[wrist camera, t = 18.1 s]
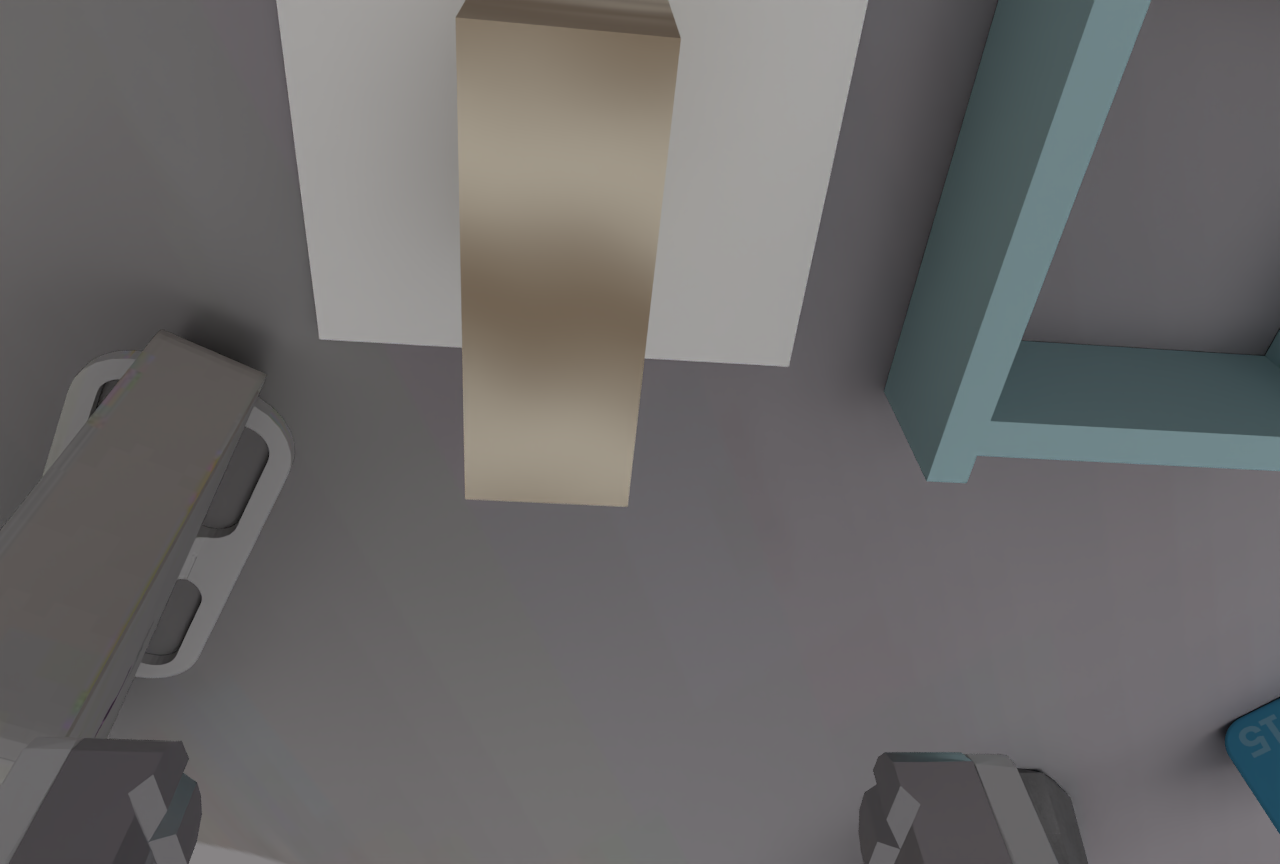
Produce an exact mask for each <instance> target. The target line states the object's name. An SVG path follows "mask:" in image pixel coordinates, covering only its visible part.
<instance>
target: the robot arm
mask: <svg viewBox="0 0 1280 864" xmlns="http://www.w3.org/2000/svg"><path fill="white" fill-rule="evenodd" d="M188 760H189V757H188V755H187V753H186V750H185V748H184V745H183V743H182V741H165V740H132V739H100V738H84V737H36V738H35V739H34V740H33V741H32V742H31V743H30V744H29V745H28V746H27V747H26V748H24V749H23V750H22V751H21V753H20V754H19V756H18V758H17V759H16V761H15V763H14V764H13V766H12V768H11V769H10V771H9V773H8V774H7V776H6V777H5V779H4V781H3V782H2V784H1V786H0V864H189V861H190V858H191V855H192V853H193V850H194V847H195V845H196V842H197V838H198V832H199V827H200V821H201V816H202V807H201V794H200V791H199V788H198V784H197V782H196V781H194V780H193V779H191V778H190V777H188V776H187V775H185V774H184V773H183V772H184V769H185V767H186V765H187V762H188ZM873 772H874V775H875V779H876V783H877V784H876V785H875V786H873V787H872V788H870V789H869V790H867V791H866V792H865V793H864V796H863V800H862V803H861V806H860V809H859V839H860V847H861V853H862V857H863V862H864V864H1058V861H1057V859H1056V857H1055V854H1054V852H1053V850H1052V848H1051V845H1050V843H1049V841H1048V838H1047V836H1046V834H1045V832H1044V829H1043V827H1042V825H1041V822H1040V820H1039V818H1038V816H1037V813H1036V811H1035V809H1034V806H1033V804H1032V802H1031V799H1030V797H1029V795H1028V793H1027V790H1026V788H1025V786H1024V783H1023V781H1022V779H1021V777H1020V774H1019V772H1018V770H1017V767H1016V765H1015V763H1014V762H1013V761H1012V760H1011V759H1010V758H1009V757H1008V756H1007V755H1003V754H962V753H957V752H884V753H883V754H882V755H880V756H879V757H878V759H877V761H876V764H875V766H874V769H873Z"/></svg>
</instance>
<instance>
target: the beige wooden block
mask: <svg viewBox="0 0 1280 864" xmlns="http://www.w3.org/2000/svg"><path fill="white" fill-rule="evenodd" d="M455 18H456V68H457V118H458V167H459V217H460V267H461V317H462V366H463V416H464V466H465V499H470V500H491V501H512V502H534V503H555V504H576V505H598V506H619V507H628V499H629V490H630V481H631V473H632V464H633V455H634V446H635V438H636V429H637V420H638V411H639V402H640V394H641V385H642V376H643V367H644V359H645V350H646V341H647V332H648V323H649V315H650V306H651V297H652V288H653V280H654V271H655V262H656V253H657V244H658V236H659V227H660V218H661V209H662V201H663V192H664V183H665V174H666V166H667V157H668V148H669V139H670V130H671V122H672V113H673V104H674V95H675V87H676V78H677V69H678V60H679V51H680V43H681V37H680V34H679V31H678V28H677V25H676V22H675V19H674V16H673V13H672V10H671V7H670V4H669V1H668V0H465V2H464V4H463V6H462V7H461V9H460V11H459V12H458V14H457V16H456V17H455Z"/></svg>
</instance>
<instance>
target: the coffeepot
mask: <svg viewBox="0 0 1280 864" xmlns="http://www.w3.org/2000/svg"><path fill="white" fill-rule="evenodd" d="M1017 770H1018V772H1019V774H1020V777H1021V779H1022V781H1023V783H1024V786H1025V788H1026V790H1027V793H1028V795H1029V797H1030V799H1031V802H1032V804H1033V806H1034V809H1035V811H1036V813H1037V816H1038V818H1039V820H1040V822H1041V825H1042V827H1043V829H1044V832H1045V834H1046V836H1047V838H1048V841H1049V843H1050V845H1051V848H1052V850H1053V852H1054V854H1055V857H1056V859H1057V861H1058V864H1088V861H1087V857H1086V854H1085V850H1084V846H1083V842H1082V839H1081V835H1080V831H1079V828H1078V824H1077V820H1076V817H1075V813H1074V809H1073V805H1072V802H1071V798H1070V797H1069V796H1068V795H1067V794H1066V793H1065V792H1064V791H1063V790H1062V789H1061V788H1060V787H1059V785H1058V784H1057V783H1056V782H1055V781H1054V780H1053V779H1051V778H1050V777H1048V776H1047V775H1045V774H1043V773H1041V772H1036V771H1031V770H1026V769H1017Z"/></svg>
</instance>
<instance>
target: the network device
mask: <svg viewBox="0 0 1280 864" xmlns="http://www.w3.org/2000/svg"><path fill="white" fill-rule="evenodd" d="M266 376H267V374H265V373H263V372H260V371H258V370H256V369H253V368H251V367H249V366H246V365H244V364H242V363H239V362H237V361H235V360H232V359H230V358H228V357H225V356H223V355H221V354H218V353H216V352H214V351H211V350H209V349H207V348H205V347H202V346H200V345H198V344H195V343H193V342H191V341H188V340H186V339H184V338H181V337H179V336H177V335H174V334H172V333H170V332H167V331H165V330H160V331H159V332H158V333H157V334H156V335H155V336H154V337H153V339H152V340H151V341H150V342H149V344H148V345H147V346H146V347H145V349H144V350H143V351H136V350H131V351H115V352H111V353H107V354H103V355H101V356H99V357H97V358H95V359H94V360H92V361H90V362H89V363H88V364H87V365H86V366H85V367H84V368H83V369H82V370H81V371H80V372H79V373H78V374H77V376H76V377H75V378H74V379H73V381H72V383H71V385H70V387H69V389H68V392H67V396H66V399H65V402H64V406H63V409H62V412H61V416H60V419H59V422H58V425H57V429H56V432H55V435H54V439H53V442H52V445H51V449H50V452H49V455H48V458H47V462H46V465H45V468H44V472H43V475H42V478H41V480H40V481H39V482H38V483H37V485H36V486H35V487H34V489H33V490H32V491H31V492H30V494H29V495H28V496H27V497H26V499H25V500H24V501H23V502H22V504H21V505H20V506H19V507H18V509H17V510H16V511H15V512H14V514H13V515H12V516H11V518H10V519H9V520H8V521H7V523H6V524H5V525H4V526H3V528H2V529H1V530H0V786H1V784H2V782H3V781H4V779H5V777H6V776H7V774H8V773H9V771H10V769H11V768H12V766H13V764H14V763H15V761H16V759H17V758H18V756H19V754H20V753H21V751H22V750H23V749H24V748H26V747H27V746H28V745H29V744H30V743H31V742H32V741H33V740H34V739H35V738H36V737H84V738H100V739H107V737H108V735H109V732H110V730H111V728H112V726H113V724H114V722H115V719H116V717H117V715H118V712H119V710H120V708H121V706H122V703H123V701H124V699H125V697H126V694H127V692H128V690H129V688H130V685H131V683H132V681H133V679H134V676H135V677H142V678H164V677H169V676H174V675H177V674H179V673H182V672H184V671H186V670H187V669H189V668H190V667H191V666H193V665H194V663H195V662H196V661H197V659H198V657H199V655H200V653H201V651H202V649H203V647H204V645H205V643H206V641H207V639H208V637H209V635H210V633H211V631H212V629H213V627H214V625H215V623H216V621H217V619H218V617H219V615H220V613H221V611H222V609H223V607H224V605H225V602H226V600H227V598H228V596H229V594H230V592H231V590H232V588H233V586H234V584H235V582H236V580H237V578H238V576H239V574H240V572H241V570H242V568H243V566H244V564H245V562H246V560H247V558H248V556H249V554H250V552H251V550H252V548H253V546H254V544H255V541H256V539H257V537H258V535H259V533H260V531H261V529H262V527H263V525H264V523H265V521H266V519H267V517H268V515H269V513H270V511H271V509H272V507H273V505H274V503H275V501H276V499H277V497H278V495H279V493H280V491H281V489H282V487H283V485H284V483H285V480H286V478H287V476H288V474H289V472H290V470H291V467H292V464H293V461H294V458H295V444H294V440H293V437H292V433H291V431H290V429H289V428H288V426H287V424H286V422H285V421H284V419H283V418H282V417H281V416H280V415H279V414H278V413H277V412H276V411H275V409H274V408H272V407H271V406H270V405H268V404H267V403H266V402H264V401H263V400H262V399H260V398H259V397H258V395H259V393H260V391H261V388H262V386H263V384H264V381H265V379H266ZM115 379H120V380H119V381H118V383H117V384H116V385H115V386H114V388H113V389H112V390H111V392H110V393H109V394H108V395H107V397H106V398H105V399H104V400H103V402H102V403H101V404H100V405H99V407H98V408H97V409H96V406H97V403H98V400H99V397H100V394H101V390H102V387H103V384H104V383H106V382H108V381H111V380H115ZM95 409H96V410H95ZM244 427H248V428H250V429H252V430H254V431H255V432H256V433H258V434H259V435H260V436H261V437H262V438H263V439H264V440H265V442H266V443H267V445H268V448H269V459H268V462H267V464H266V466H265V468H264V470H263V472H262V475H261V477H260V479H259V481H258V483H257V485H256V487H255V489H254V492H253V494H252V496H251V498H250V500H249V502H248V504H247V506H246V509H245V511H244V513H243V515H242V517H241V519H240V521H239V522H238V523H237V524H235V525H234V526H232V527H229V528H225V529H214V528H209V527H205V526H202V522H203V520H204V518H205V516H206V513H207V511H208V509H209V507H210V504H211V502H212V500H213V497H214V495H215V493H216V491H217V488H218V486H219V484H220V482H221V479H222V477H223V475H224V473H225V470H226V468H227V466H228V464H229V461H230V459H231V457H232V454H233V452H234V450H235V448H236V445H237V443H238V441H239V439H240V436H241V434H242V432H243V430H244ZM177 579H187V580H189V581H190V582H192V583H193V584H194V585H196V586H197V588H198V589H199V590H200V592H201V595H202V601H201V604H200V606H199V608H198V610H197V613H196V615H195V617H194V619H193V621H192V623H191V625H190V627H189V630H188V632H187V634H186V636H185V638H184V640H183V642H182V644H181V647H180V648H179V650H177V651H176V652H175V653H172V654H169V655H160V656H159V655H152V654H148V653H145V651H146V649H147V647H148V645H149V642H150V640H151V638H152V636H153V633H154V631H155V629H156V626H157V624H158V622H159V620H160V617H161V615H162V613H163V611H164V608H165V606H166V604H167V602H168V599H169V597H170V595H171V593H172V590H173V588H174V586H175V583H176V581H177Z"/></svg>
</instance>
